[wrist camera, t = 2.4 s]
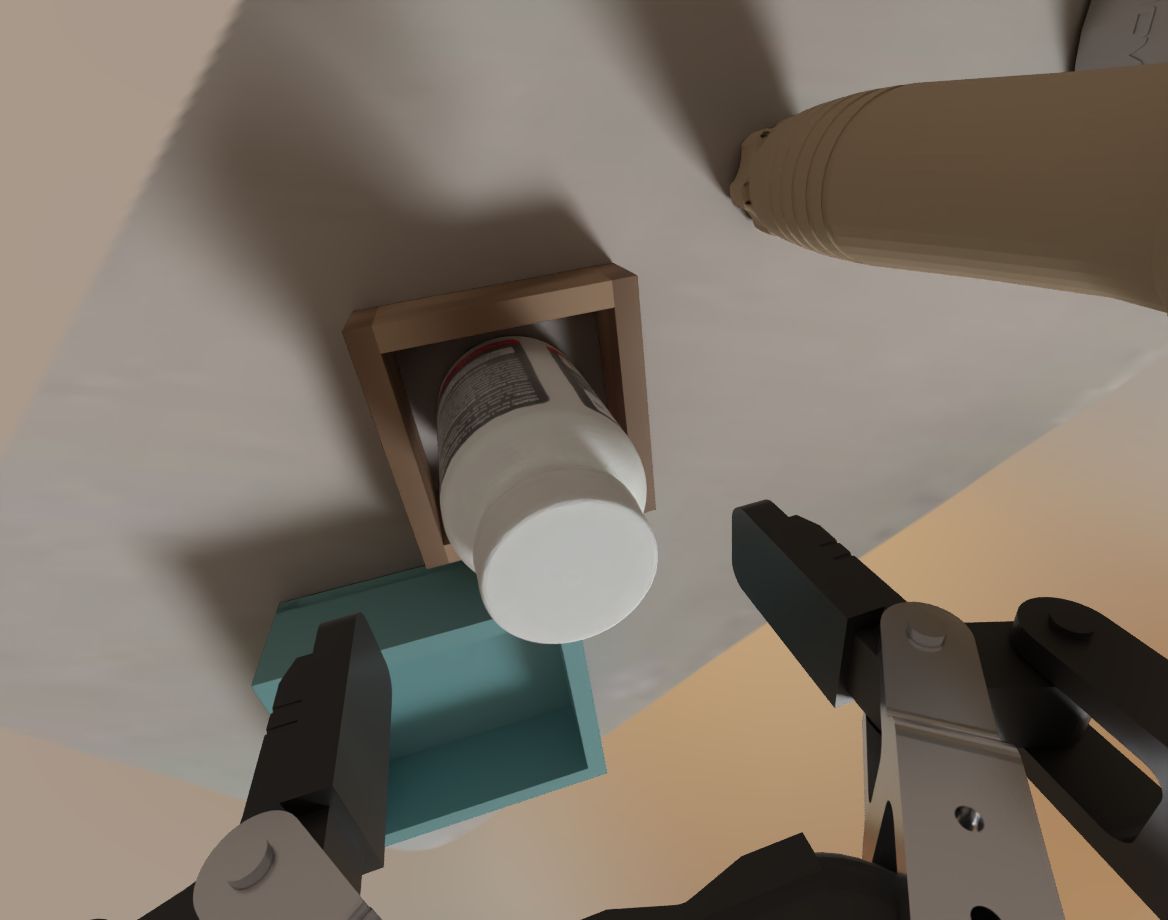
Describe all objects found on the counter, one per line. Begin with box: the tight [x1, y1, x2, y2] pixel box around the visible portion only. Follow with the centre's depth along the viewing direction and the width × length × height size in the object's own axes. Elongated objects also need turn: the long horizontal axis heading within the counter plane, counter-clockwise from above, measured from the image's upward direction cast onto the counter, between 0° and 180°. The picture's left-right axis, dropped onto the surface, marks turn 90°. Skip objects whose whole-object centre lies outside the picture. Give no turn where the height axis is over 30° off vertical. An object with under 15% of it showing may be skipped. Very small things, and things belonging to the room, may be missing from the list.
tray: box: [251, 560, 607, 847], centre depth 23 cm, size 11×11×4 cm
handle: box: [730, 62, 1168, 314], centre depth 12 cm, size 5×6×15 cm
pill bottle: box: [437, 336, 658, 644], centre depth 16 cm, size 5×5×10 cm
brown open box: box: [342, 263, 656, 569], centre depth 19 cm, size 9×9×2 cm
